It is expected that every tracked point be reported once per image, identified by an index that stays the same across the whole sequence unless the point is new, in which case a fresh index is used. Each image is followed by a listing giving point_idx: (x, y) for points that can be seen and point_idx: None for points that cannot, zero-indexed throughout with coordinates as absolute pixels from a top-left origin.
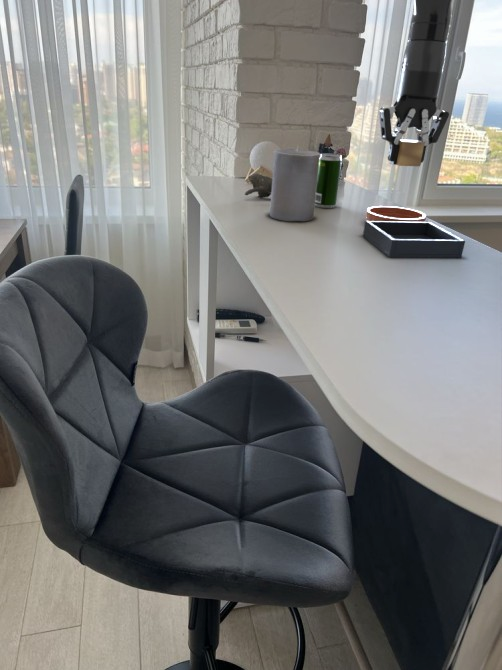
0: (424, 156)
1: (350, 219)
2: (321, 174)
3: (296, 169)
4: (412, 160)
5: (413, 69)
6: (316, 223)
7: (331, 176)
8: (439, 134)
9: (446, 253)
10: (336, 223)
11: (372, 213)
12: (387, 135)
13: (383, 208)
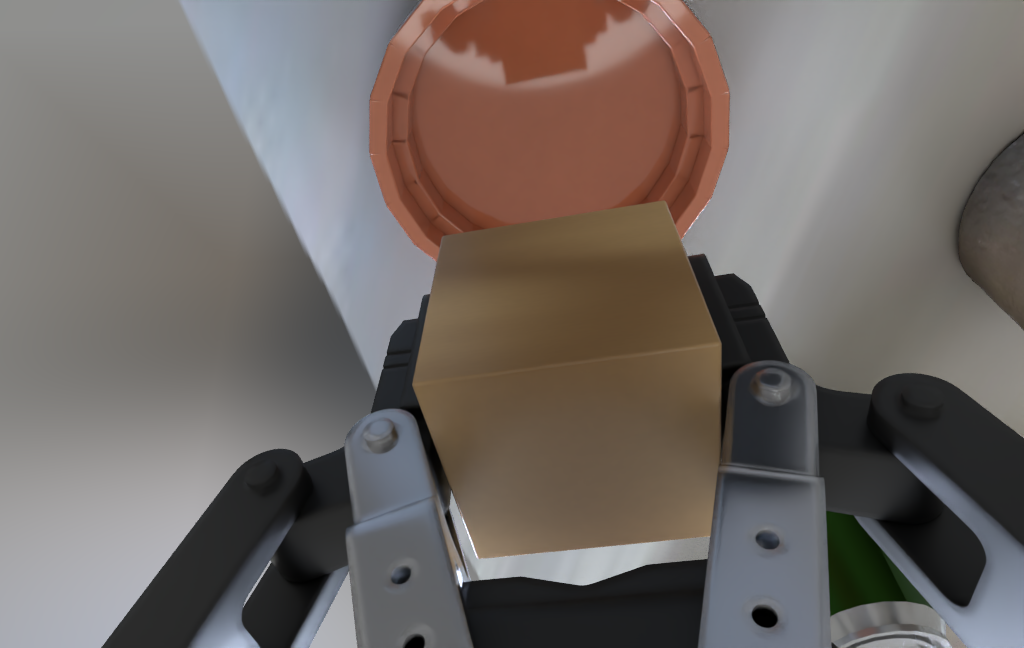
0: (386, 357)
1: (748, 225)
2: None
3: None
4: (530, 246)
5: None
6: (1001, 88)
7: (847, 522)
8: (194, 540)
9: None
10: (871, 117)
11: (719, 81)
12: (965, 416)
13: None
